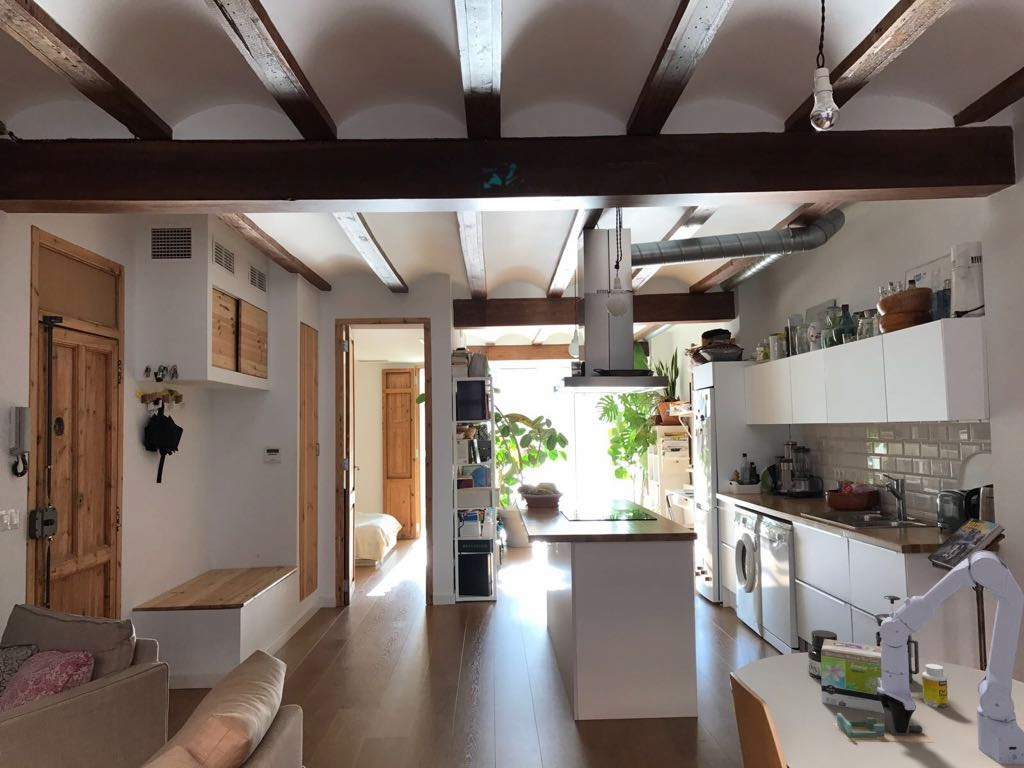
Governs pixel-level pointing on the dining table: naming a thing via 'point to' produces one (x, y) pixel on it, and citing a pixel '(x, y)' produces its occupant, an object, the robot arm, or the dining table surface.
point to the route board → (873, 731)
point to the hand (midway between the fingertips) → (896, 728)
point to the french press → (879, 621)
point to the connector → (891, 728)
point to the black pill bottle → (818, 651)
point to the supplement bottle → (934, 686)
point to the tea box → (851, 675)
